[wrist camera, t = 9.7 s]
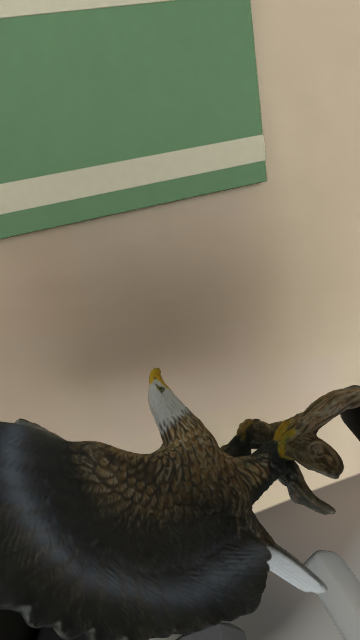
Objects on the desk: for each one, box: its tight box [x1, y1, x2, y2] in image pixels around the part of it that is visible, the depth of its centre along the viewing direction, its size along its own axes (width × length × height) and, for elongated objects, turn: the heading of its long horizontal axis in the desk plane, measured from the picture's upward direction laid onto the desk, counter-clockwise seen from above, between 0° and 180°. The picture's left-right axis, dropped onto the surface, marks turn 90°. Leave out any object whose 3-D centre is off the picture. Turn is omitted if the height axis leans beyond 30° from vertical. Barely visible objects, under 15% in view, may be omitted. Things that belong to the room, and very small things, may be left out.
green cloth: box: [0, 0, 267, 239], centre depth 13 cm, size 20×10×1 cm, turn 102°
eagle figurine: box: [0, 368, 360, 640], centre depth 8 cm, size 8×7×9 cm
